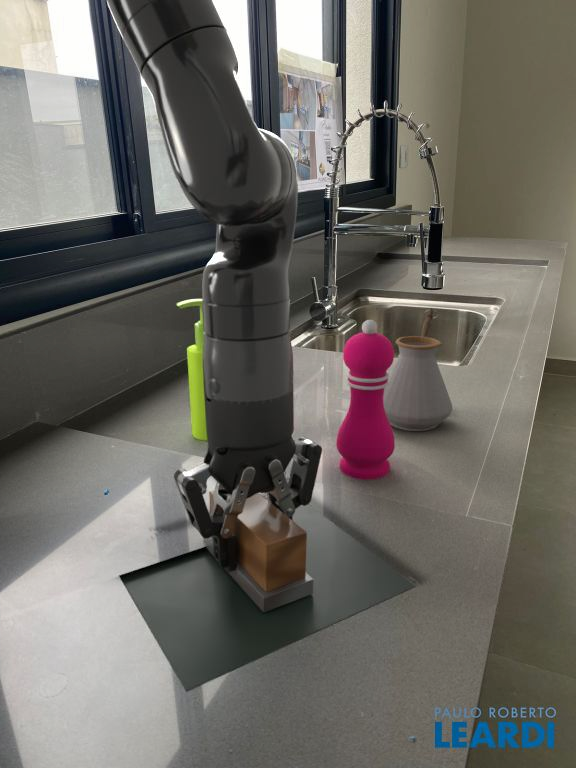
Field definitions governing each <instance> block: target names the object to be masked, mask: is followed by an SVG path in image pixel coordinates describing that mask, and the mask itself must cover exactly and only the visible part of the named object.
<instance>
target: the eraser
mask: <svg viewBox="0 0 576 768" xmlns="http://www.w3.org/2000/svg"><path fill="white" fill-rule="evenodd" d="M214 490H215V489H213V490H210V491H209V492H208V497H209V498H208V499H209V501H208V503H209V515H210V516H211V512H212V509H213V505H214V500H213V494H214ZM230 496H232V495H230ZM233 534H234V535H235V536H236V554H237V567H236V570H234V571H231V572H228V571H227V570H226V569H225V568H224V569H225V570H226V571H227V572H228V573H229V574H230V575H231V576H232V578H233V579H234V580H235V581H236V582H237V583H238V584H239V585H240V587H241V588H242V589H243V590H244V591H245V592H246V593H247V594H248V596H249V597H250V598H251V599H252V600H253V601H254V602H255V603H256V605H257V606H258V607H259V608H260V609H261V610H262V611H263V612H267V611H269V610H272V609H275V608H277V607H280V606H282V605H285V604H288V603H290V602H293V601H295V600H298V599H301V598H303V597H306V596H308V595H311V594H313V578H311V577H310V576H309V575H308V574H307V573H306V542H307V532H306V531H305V530H303V529H302V528H301V527H300V526H298V525H297V524H296V523H295V522H294V521H292V520H291V519H290V518H289V517H287V516H286V515H285V514H284V513H283V512H281V511H280V510H279V509H278V508H276V507H275V506H274V505H273V504H271V503H270V500H268V499H266V497H264V496H263V495H262V494H261V493H257V494H255V495H253V496H252V497H250V498H247V499H246V501H245V505H244V508H243V512H242V513H241V514H239V515H238V517H237V521H236V524H235V528H234V531H233ZM202 538H203V537H202ZM202 541H203V543H204V544H205V547H206V548H207V549H208V551H209V552H210V553H211V554H212V555H213V556H214V548H213V547H214V546H213V536H211V537H210V538H203V539H202Z"/></svg>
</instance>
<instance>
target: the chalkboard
mask: <svg viewBox="0 0 576 768" xmlns="http://www.w3.org/2000/svg"><path fill="white" fill-rule="evenodd" d="M269 502H270V501H269ZM270 503H271V502H270ZM292 517H293V521H294V522H295V523H296V524H297V525H298V526H300V527H301V528H302V529H303V530H305V531H306V532H307V542H306V573H307V574H308V575H309V576H310V577H311V578H313V594H311V595H308V596H306V597H303V598H301V599H298V600H295V601H293V602H290V603H288V604H285V605H282V606H280V607H277V608H275V609H272V610H269V611H267V612H263V611H262V610H261V609H260V608H259V607H258V606H257V605H256V603H255V602H254V601H253V600H252V599H251V598H250V597H249V596H248V594H247V593H246V592H245V591H244V590H243V589H242V588H241V587H240V585H239V584H238V583H237V582H236V581H235V580H234V579H233V578H232V576H231V575H230V574H229V573H228V572H227V571H226V570H225V569H224V568H223V567H222V566H221V565H220V564H219V563H218V562H217V561H216V559H215V557H214V556H213V555H212V554H211V553H210V552H209V551H208V549H207V548H206V546H203V547H199V548H196V549H194V550H190V551H187V552H184V553H181V554H178V555H176V556H172V557H170V558H167V559H164V560H161V561H157V562H155V563H152V564H149V565H146V566H142V567H140V568H136V569H135V570H132V571H128V572H125V573H122V574H119V575H118V577H119V579H120V581H121V582H122V584H123V585H124V587H125V589H126V591H127V592H128V594H129V596H130V598H131V599H132V601H133V603H134V604H135V607H136V608H137V610H138V612H139V613H140V615H141V617H142V619H143V620H144V622H145V623H146V625H147V627H148V629H149V631H150V632H151V634H152V636H153V637H154V639H155V641H156V643H157V644H158V647H159V648H160V650H161V651H162V653H163V655H164V656H165V658H166V660H167V662H168V663H169V665H170V667H171V669H172V670H173V672H174V675H176V677H177V679H178V680H179V682H180V685H181V686H182V687H183V689H184V691H185V692H190V691H191V690H194V689H195V688H198V687H200V686H203V685H204V684H206V683H209V682H211V681H214V680H215V679H217V678H219V677H222V676H224V675H226V674H228V673H230V672H233V671H235V670H237V669H240V668H241V667H244V666H246V665H248V664H250V663H253V662H254V661H257V660H260V659H261V658H263V657H265V656H267V655H269V654H272V653H274V652H276V651H279V650H280V649H283V648H285V647H287V646H289V645H291V644H294V643H296V642H298V641H300V640H302V639H305V638H307V637H310V636H311V635H314V634H315V633H318V632H320V631H323V630H325V629H327V628H329V627H331V626H333V625H335V624H337V623H341V622H342V621H344V620H347V619H348V618H351V617H353V616H355V615H357V614H359V613H362V612H365V611H366V610H368V609H370V608H372V607H374V606H377V605H379V604H381V603H384V602H385V601H387V600H390V599H392V598H395V597H397V596H399V595H401V594H404V593H405V592H408V591H410V590H411V589H414V588H416V585H415V584H414V583H413V582H411V581H410V580H409V579H407V578H406V577H404V576H403V575H402V574H401V573H399V572H398V571H397V570H396V569H394V568H392V566H391V565H389V564H387V562H385V561H384V560H383V559H381V558H380V557H379V556H377V555H376V554H374V553H373V552H372V551H370V549H368V548H367V547H365V546H364V545H362V544H361V543H360V542H359V541H357V540H356V539H355V538H353V536H351V535H350V534H349V533H347V532H346V531H344V530H343V529H342V528H340V527H339V526H338V525H337V524H336V523H334V522H333V521H331V519H329V518H328V517H326V516H325V515H324V514H322V513H321V512H320V511H318V510H317V509H316V508H314V507H313V506H312V505H310V503H309V504H308V505H306V506H303V505H300V506H299V507H298V508H296V509H295V513H294V514H293V516H292Z"/></svg>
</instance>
